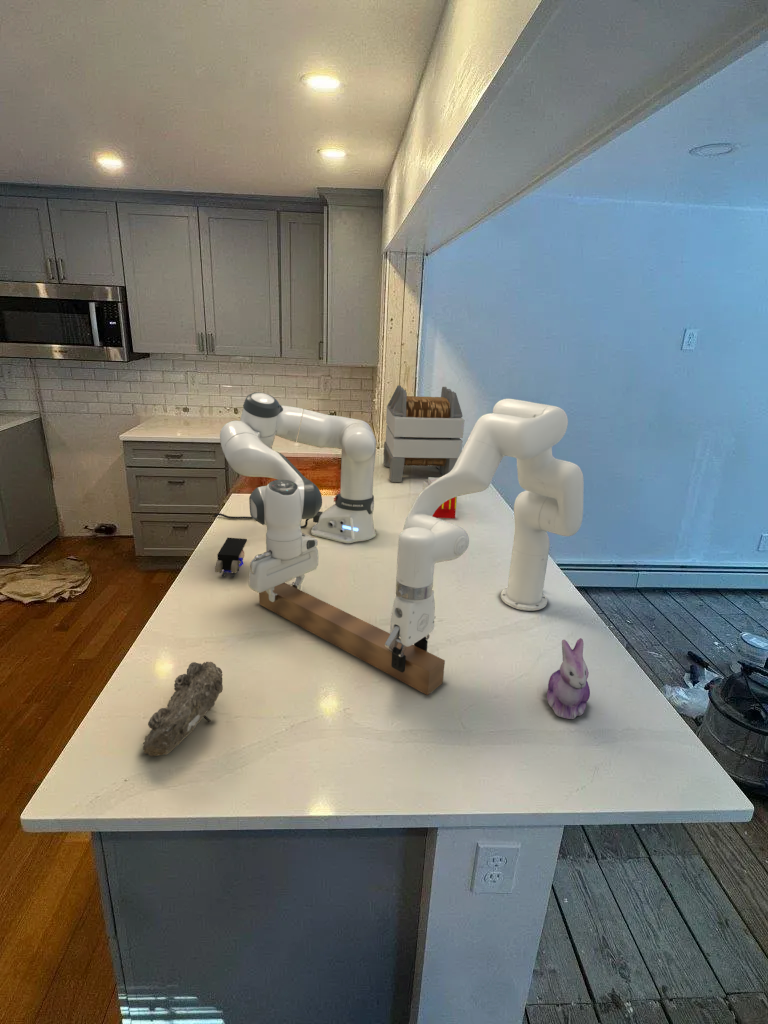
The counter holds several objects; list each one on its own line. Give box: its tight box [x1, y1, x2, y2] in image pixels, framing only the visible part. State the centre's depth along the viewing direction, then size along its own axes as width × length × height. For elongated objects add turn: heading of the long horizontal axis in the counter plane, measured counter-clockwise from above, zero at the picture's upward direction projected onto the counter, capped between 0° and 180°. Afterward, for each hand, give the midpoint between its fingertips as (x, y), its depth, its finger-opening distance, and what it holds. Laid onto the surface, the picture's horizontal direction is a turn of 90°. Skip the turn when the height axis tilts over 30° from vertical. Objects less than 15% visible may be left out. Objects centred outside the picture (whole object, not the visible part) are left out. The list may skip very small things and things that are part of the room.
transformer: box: [383, 384, 465, 483], centre depth 268 cm, size 34×33×41 cm
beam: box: [258, 582, 446, 696], centre depth 134 cm, size 54×6×6 cm, turn 50°
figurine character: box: [214, 537, 248, 578], centre depth 166 cm, size 7×8×15 cm
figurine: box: [546, 637, 591, 720], centre depth 113 cm, size 9×10×15 cm
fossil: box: [142, 661, 224, 757], centre depth 105 cm, size 22×10×15 cm
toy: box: [422, 476, 458, 519], centre depth 227 cm, size 12×13×30 cm
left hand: (285, 595), depth 145 cm, fingers open, 6 cm apart
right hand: (409, 661), depth 122 cm, fingers open, 7 cm apart
